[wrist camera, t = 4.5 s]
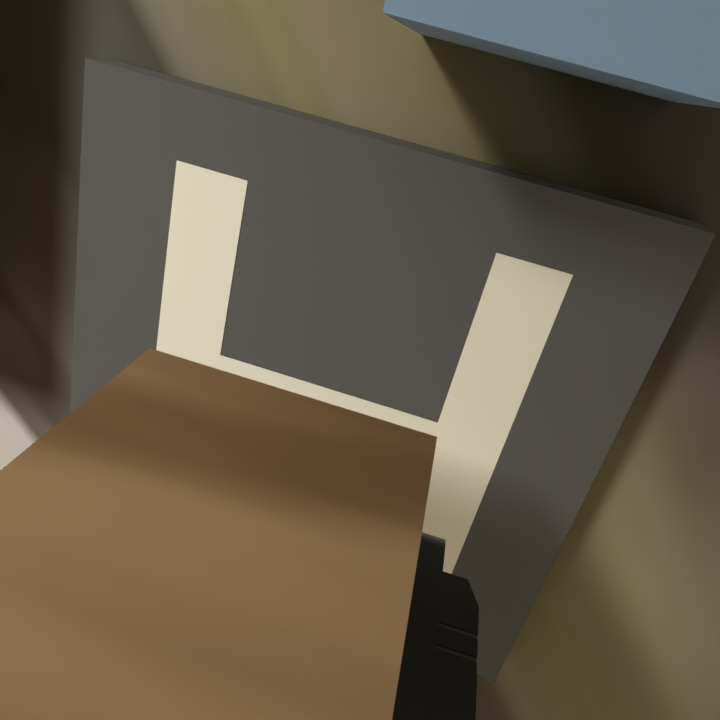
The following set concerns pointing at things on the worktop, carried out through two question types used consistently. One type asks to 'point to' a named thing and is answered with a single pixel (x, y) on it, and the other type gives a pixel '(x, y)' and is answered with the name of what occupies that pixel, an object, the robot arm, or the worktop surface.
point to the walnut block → (208, 554)
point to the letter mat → (380, 300)
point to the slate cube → (589, 39)
